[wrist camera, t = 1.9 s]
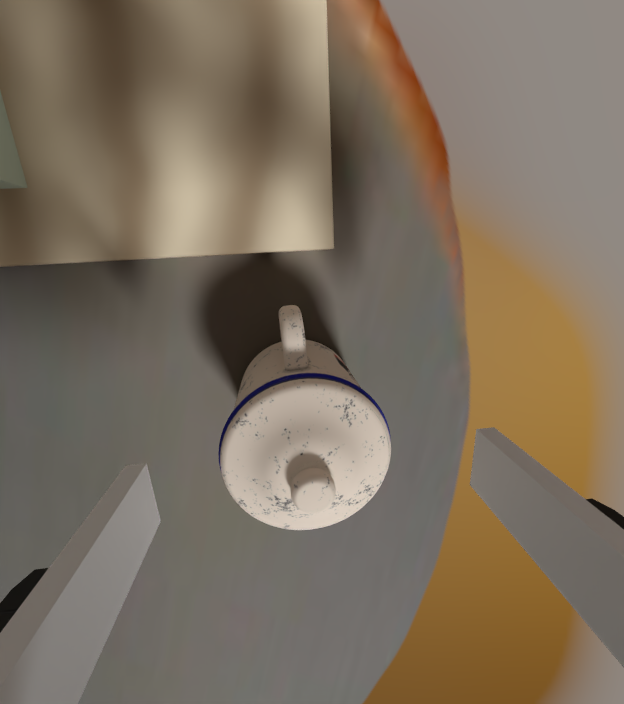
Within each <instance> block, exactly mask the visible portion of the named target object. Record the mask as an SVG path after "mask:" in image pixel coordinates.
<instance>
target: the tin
mask: <svg viewBox="0 0 624 704" xmlns="http://www.w3.org/2000/svg"><path fill="white" fill-rule="evenodd" d="M11 188H28V187H27V183H26V180H25V176H24V173H23V169H22V166H21V162H20V159H19V155H18V152H17V148H16V145H15V141H14V137H13V134H12V130H11V127H10V123H9V120H8V116H7V113H6V109H5V106H4V102H3V99H2V95H1V92H0V189H11Z"/></svg>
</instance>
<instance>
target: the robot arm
mask: <svg viewBox="0 0 624 704" xmlns="http://www.w3.org/2000/svg"><path fill="white" fill-rule="evenodd" d="M470 485H471V487H472V488H473V489H474V490H475V491H476V493H477V494H478V495H479V496H480V497H481V499H483V501H484V502H485V503H486V504H487V505H488V507H489V508H490V509H491V510H492V512H493V513H494V514H495V515H496V516H497V518H498V519H499V520H500V521H501V522H502V523H503V524H504V526H505V527H506V528H507V529H508V531H509V532H510V533H511V534H512V535H513V537H514V538H515V539H516V540H517V541H518V542H519V544H520V545H521V546H522V547H523V548H524V550H525V551H526V552H527V553H528V554H529V556H530V557H531V558H532V559H533V560H534V561H535V563H536V564H537V565H538V566H539V567H540V569H541V570H542V571H543V572H544V573H545V575H546V576H547V577H548V578H549V579H550V580H551V582H552V583H553V584H554V585H555V586H556V588H557V589H558V590H559V591H560V592H561V593H562V595H563V596H564V597H565V598H566V599H567V601H568V602H569V603H570V604H571V605H572V607H573V608H574V609H575V610H576V611H577V612H578V614H579V615H580V616H581V617H582V619H583V620H584V621H585V622H586V623H587V624H588V626H589V627H590V628H591V629H592V630H593V632H594V633H595V634H596V635H597V636H598V638H599V639H600V640H601V641H602V642H603V643H604V645H605V646H606V647H607V648H608V649H609V651H610V652H611V653H612V654H613V655H614V656H615V658H616V659H617V660H618V661H619V662H620V663H621V664H622V666H623V667H624V517H623V516H622V515H620V514H619V513H618V512H616V511H615V510H613V509H611V508H609V507H607V506H605V505H604V504H601V503H600V502H597V501H596V500H594V499H584V498H583V497H582V496H580V495H579V494H578V493H577V492H575V491H574V490H573V489H572V488H570V487H569V486H568V485H566V484H565V483H564V482H563V481H561V480H560V479H559V478H558V477H556V476H555V475H554V474H553V473H551V472H550V471H549V470H547V469H546V468H545V467H544V466H542V465H541V464H540V463H539V462H537V461H536V460H535V459H533V458H532V457H531V456H529V455H528V454H527V453H526V452H525V451H523V450H522V449H521V448H519V447H518V446H517V445H516V444H514V443H513V442H512V441H511V440H509V439H508V438H507V437H505V436H504V435H503V434H502V433H500V432H499V431H498V430H497V429H495V428H484V429H477V430H476V437H475V446H474V455H473V463H472V472H471V481H470ZM160 522H161V521H160V517H159V512H158V508H157V504H156V500H155V496H154V492H153V488H152V484H151V480H150V475H149V471H148V467H147V463H145V464H135V465H125V467H124V468H123V469H122V471H121V472H120V473H119V475H118V476H117V477H116V479H115V480H114V481H113V483H112V484H111V486H110V487H109V488H108V490H107V491H106V492H105V494H104V495H103V496H102V498H101V499H100V500H99V502H98V503H97V504H96V506H95V507H94V508H93V510H92V511H91V512H90V514H89V515H88V516H87V518H86V519H85V520H84V522H83V523H82V524H81V526H80V527H79V528H78V530H77V531H76V532H75V534H74V535H73V536H72V538H71V539H70V540H69V542H68V543H67V544H66V546H65V547H64V548H63V550H62V551H61V552H60V554H59V555H58V556H57V558H56V559H55V560H54V562H53V563H52V564H51V566H50V567H49V568H45V569H37V570H34V571H33V572H32V573H30V574H29V575H28V576H27V577H26V578H25V579H23V580H22V581H21V582H20V583H19V584H18V585H16V586H15V587H14V588H13V589H12V590H11V591H10V592H9V593H8V595H7V596H6V597H5V598H4V600H3V601H2V602H1V603H0V704H78V702H79V700H80V698H81V695H82V693H83V691H84V689H85V687H86V684H87V682H88V680H89V678H90V676H91V673H92V671H93V669H94V667H95V665H96V662H97V660H98V658H99V656H100V654H101V651H102V649H103V647H104V645H105V643H106V640H107V638H108V636H109V634H110V632H111V629H112V627H113V625H114V623H115V621H116V618H117V616H118V614H119V612H120V610H121V607H122V605H123V603H124V601H125V599H126V596H127V594H128V592H129V590H130V588H131V585H132V583H133V581H134V579H135V577H136V574H137V572H138V570H139V568H140V566H141V563H142V561H143V559H144V557H145V555H146V552H147V550H148V548H149V546H150V544H151V541H152V539H153V537H154V535H155V533H156V530H157V528H158V526H159V524H160Z"/></svg>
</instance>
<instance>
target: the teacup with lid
mask: <svg viewBox="0 0 624 704" xmlns="http://www.w3.org/2000/svg"><path fill="white" fill-rule="evenodd" d="M279 323H280V332H281V340H282V341H281V342H278V343H276V344H273V345H271V346H269V347H268V348H266V349H264V350H263V351H262V352H260V353H259V354H258V355H257V356H256V357H255V358H254V359H253V360H252V362H251V363H250V364H249V366H248V368H247V369H246V371H245V373H244V376H243V379H242V382H241V386H240V389H239V393H238V396H237V400H236V403H235V407H234V411H233V412H232V413H231V415H230V417H229V418H228V420H227V422H226V424H225V427H224V429H223V432H222V435H221V439H220V444H219V464H220V469H221V473H222V476H223V480H224V482H225V485H226V487H227V489H228V491H229V493H230V494H231V495H232V497H233V498H234V500H235V501H236V502H237V503H238V504H239V506H240V507H242V508H243V509H244V510H245V511H246V512H247V513H249V514H250V515H251V516H253V517H254V518H256V519H258V520H260V521H262V522H264V523H266V524H269V525H272V526H275V527H279V528H284V529H291V530H309V529H317V528H321V527H325V526H329V525H332V524H335V523H337V522H340V521H342V520H344V519H346V518H347V517H349V516H351V515H352V514H354V513H355V512H357V511H358V510H359V509H361V508H362V507H363V506H364V505H365V504H366V503H367V502H368V501H369V500H370V499H371V498H372V497H373V496H374V494H375V493H376V492H377V490H378V489H379V487H380V486H381V484H382V482H383V480H384V478H385V475H386V472H387V470H388V466H389V462H390V456H391V439H390V432H389V427H388V424H387V421H386V419H385V416H384V414H383V412H382V411H381V409H380V407H379V406H378V405H377V403H376V402H375V401H374V400H373V399H372V397H371V396H370V395H369V394H367V393H366V392H365V391H364V390H363V389H361V387H360V386H359V384H358V383H357V381H356V380H355V378H354V377H353V375H352V374H351V372H350V371H349V369H348V368H347V366H346V365H345V364H344V362H343V361H342V359H341V358H340V357H339V356H338V355H337V354H336V353H335V352H334V351H332V350H331V349H330V348H328V347H326V346H324V345H322V344H320V343H318V342H314V341H310V340H305V332H304V325H303V319H302V314H301V311H300V309H299V307H298V306H296V305H287V306H283V307H281V308H280V310H279Z"/></svg>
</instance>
